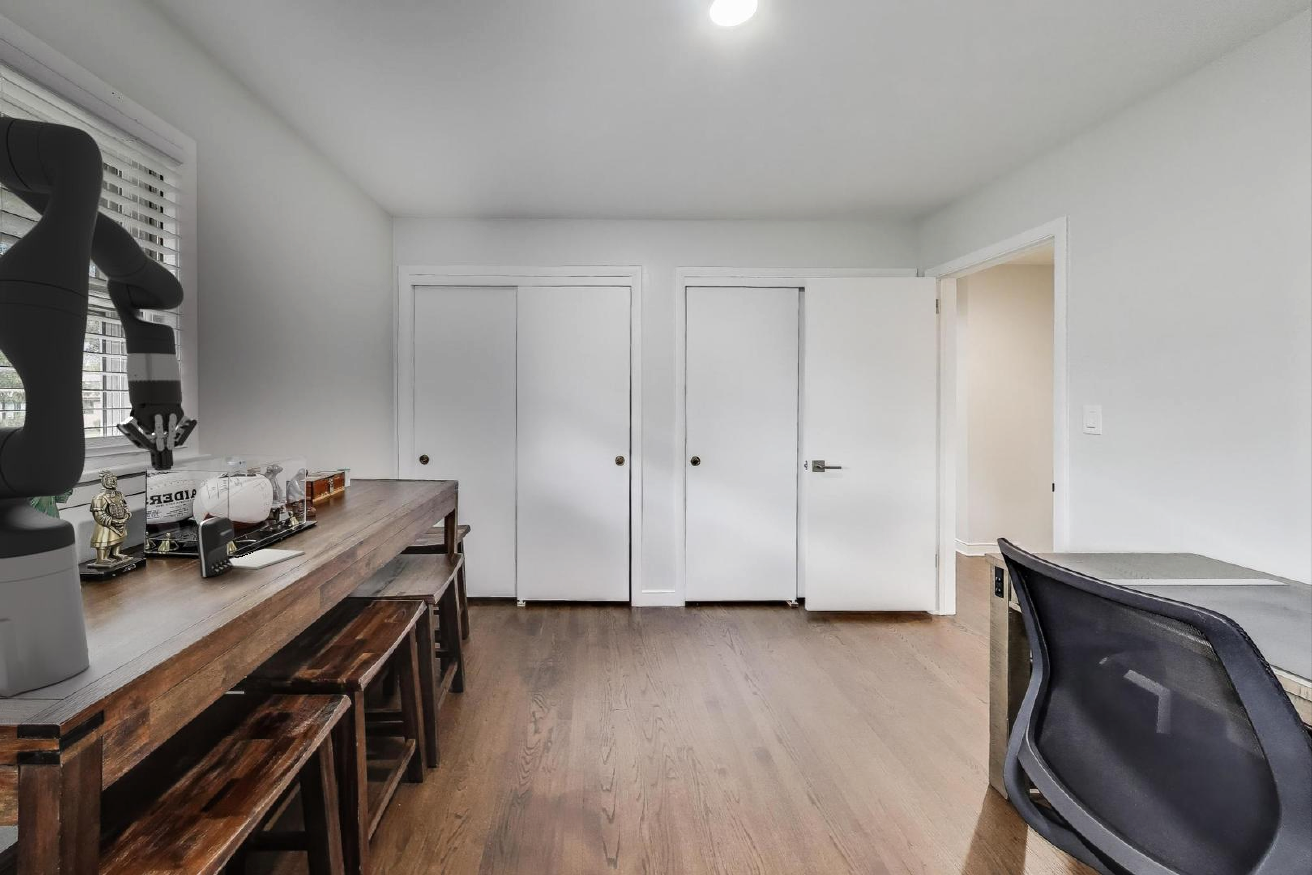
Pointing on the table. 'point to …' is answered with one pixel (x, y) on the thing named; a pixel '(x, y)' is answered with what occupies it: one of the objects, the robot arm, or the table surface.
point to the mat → (263, 558)
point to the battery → (214, 545)
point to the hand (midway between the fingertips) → (163, 469)
